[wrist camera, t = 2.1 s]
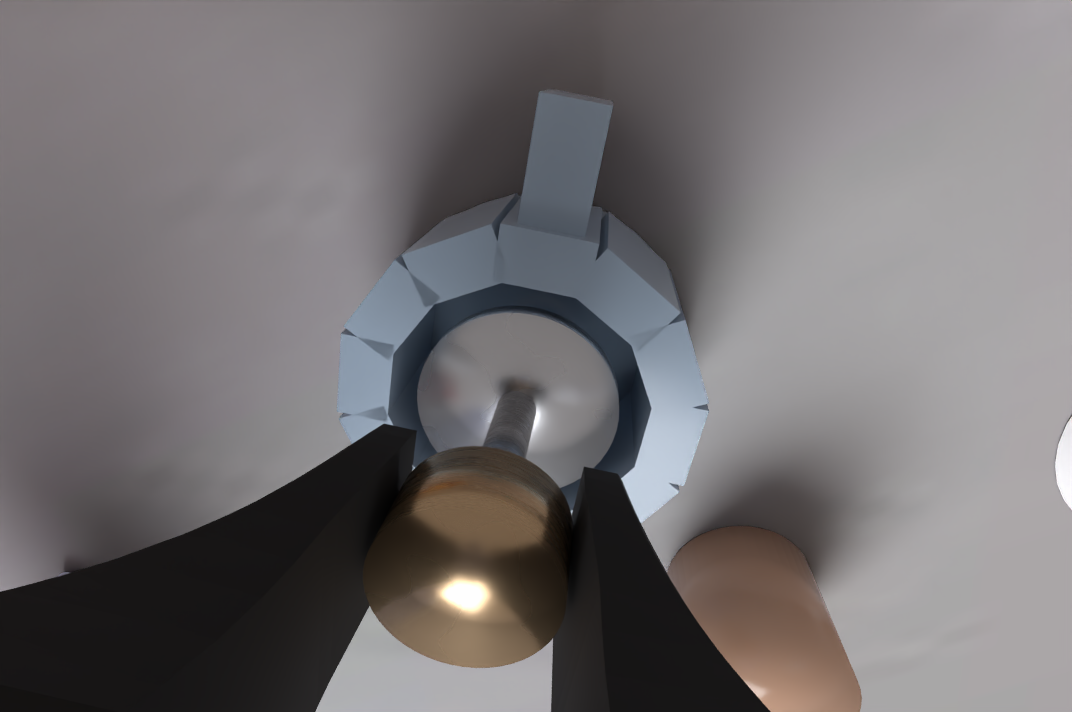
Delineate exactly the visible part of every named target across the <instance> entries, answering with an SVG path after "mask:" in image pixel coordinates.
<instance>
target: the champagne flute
mask: <svg viewBox="0 0 1072 712" xmlns="http://www.w3.org/2000/svg"><path fill="white" fill-rule="evenodd" d="M1055 469H1056V478H1057V484H1058V487H1059V489H1060V492H1061V494H1062V497H1063V499H1064V501H1065V502H1066V503H1067V504H1068V506H1069V507H1070V508H1071V509H1072V417H1071V418H1070V420H1069V421H1068V423H1067V425H1066V427H1065V429H1064V432H1063V434H1062V437H1061V439H1060V442H1059V444H1058V449H1057V455H1056V462H1055Z"/></svg>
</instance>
